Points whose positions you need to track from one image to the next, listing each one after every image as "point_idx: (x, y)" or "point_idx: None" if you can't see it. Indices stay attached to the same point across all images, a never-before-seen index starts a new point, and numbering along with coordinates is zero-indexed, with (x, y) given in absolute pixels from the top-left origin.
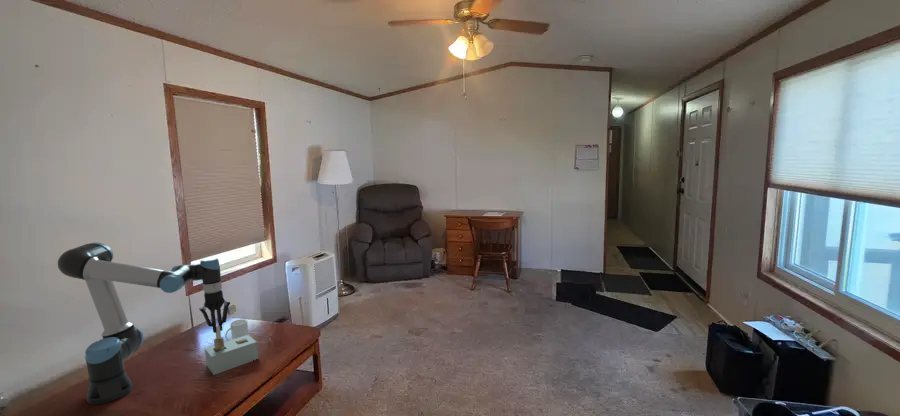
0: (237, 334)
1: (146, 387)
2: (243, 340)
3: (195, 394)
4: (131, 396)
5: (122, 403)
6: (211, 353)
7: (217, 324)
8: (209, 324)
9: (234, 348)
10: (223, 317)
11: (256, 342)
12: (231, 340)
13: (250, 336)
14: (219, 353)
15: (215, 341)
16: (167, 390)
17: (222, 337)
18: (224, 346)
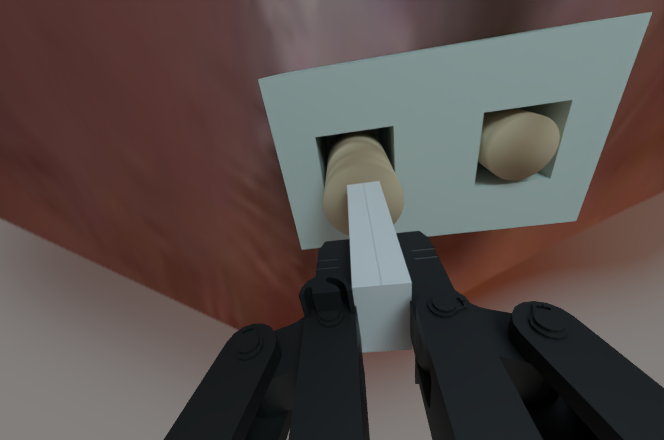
0: None
1: (45, 128)
2: (533, 154)
3: (255, 286)
4: (21, 172)
5: (17, 205)
6: (303, 208)
7: (395, 297)
8: (260, 424)
9: (433, 227)
10: (598, 410)
11: (571, 218)
12: (474, 57)
13: (625, 84)
14: (344, 237)
15: (333, 223)
16: (154, 210)
17: (399, 194)
18: (393, 145)
